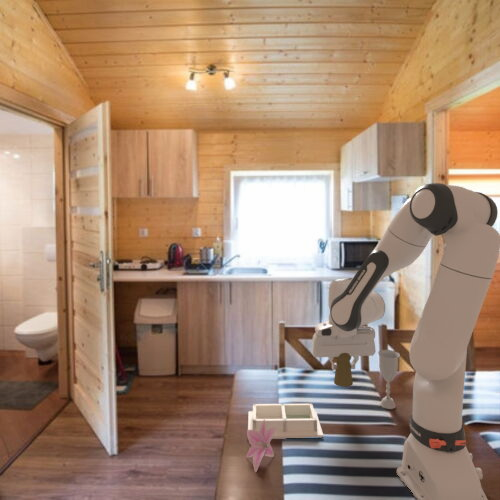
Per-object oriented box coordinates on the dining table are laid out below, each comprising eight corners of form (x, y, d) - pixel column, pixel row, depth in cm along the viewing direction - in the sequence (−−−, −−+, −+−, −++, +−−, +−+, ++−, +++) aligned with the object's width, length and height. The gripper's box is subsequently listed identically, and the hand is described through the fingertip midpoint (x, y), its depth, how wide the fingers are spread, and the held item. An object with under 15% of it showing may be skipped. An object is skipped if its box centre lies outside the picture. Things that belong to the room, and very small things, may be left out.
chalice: (401, 410, 130) (403, 357, 128) (380, 410, 130) (382, 358, 128) (394, 399, 138) (395, 349, 136) (374, 400, 138) (375, 349, 136)
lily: (248, 446, 114) (235, 424, 110) (286, 431, 113) (273, 409, 109) (252, 485, 103) (237, 463, 99) (294, 470, 102) (280, 446, 98)
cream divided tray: (323, 438, 115) (323, 423, 115) (247, 439, 116) (247, 424, 115) (315, 413, 129) (315, 400, 129) (248, 414, 130) (248, 401, 129)
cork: (351, 379, 132) (351, 347, 131) (354, 386, 126) (354, 353, 125) (332, 378, 133) (332, 346, 132) (335, 386, 127) (334, 353, 126)
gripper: (372, 323, 131) (372, 364, 132) (310, 325, 131) (311, 366, 132) (378, 329, 125) (378, 371, 126) (313, 331, 125) (314, 373, 126)
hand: (343, 368), depth 129 cm, fingers closed on cork, 4 cm apart
